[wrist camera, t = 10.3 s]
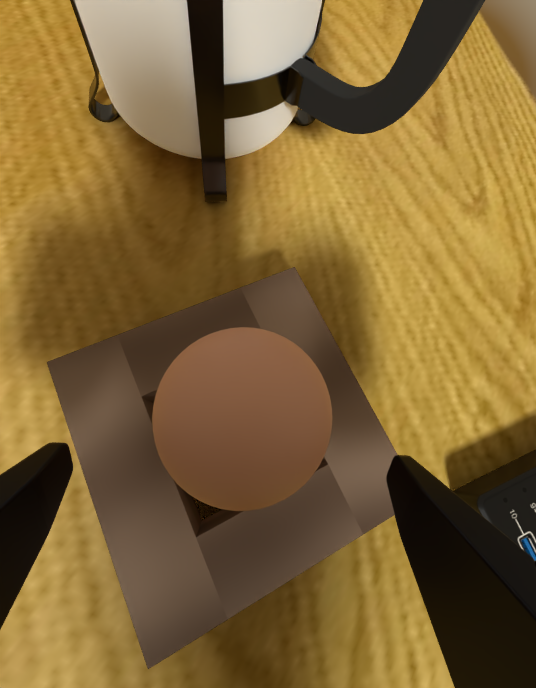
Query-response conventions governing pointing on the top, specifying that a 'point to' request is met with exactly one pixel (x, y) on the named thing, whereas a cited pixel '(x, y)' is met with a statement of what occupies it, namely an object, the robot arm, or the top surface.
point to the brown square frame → (178, 506)
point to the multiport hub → (508, 500)
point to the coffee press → (246, 72)
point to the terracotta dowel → (242, 419)
